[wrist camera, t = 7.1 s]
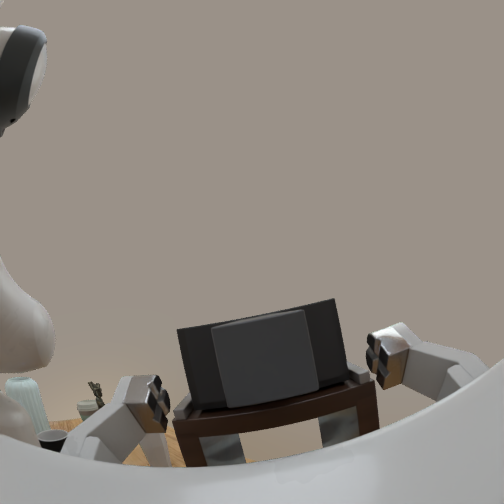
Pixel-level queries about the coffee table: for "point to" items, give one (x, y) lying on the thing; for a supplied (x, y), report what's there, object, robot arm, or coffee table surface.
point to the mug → (52, 439)
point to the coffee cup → (87, 408)
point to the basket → (264, 356)
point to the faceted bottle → (156, 449)
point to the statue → (97, 394)
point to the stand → (277, 419)
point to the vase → (28, 400)
